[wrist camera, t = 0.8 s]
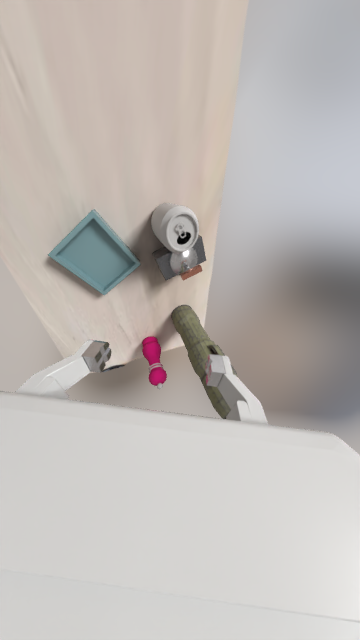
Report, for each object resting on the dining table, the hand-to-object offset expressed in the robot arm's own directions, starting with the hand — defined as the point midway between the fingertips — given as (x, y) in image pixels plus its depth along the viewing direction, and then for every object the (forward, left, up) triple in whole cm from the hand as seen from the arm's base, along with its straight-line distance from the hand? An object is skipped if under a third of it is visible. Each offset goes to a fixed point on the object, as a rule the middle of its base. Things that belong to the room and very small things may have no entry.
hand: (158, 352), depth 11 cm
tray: (-3, -7, -32) cm, 33 cm away
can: (+1, +10, -32) cm, 34 cm away
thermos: (+28, -2, -32) cm, 43 cm away
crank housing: (+9, +8, -32) cm, 34 cm away
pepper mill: (+30, -20, -32) cm, 48 cm away
